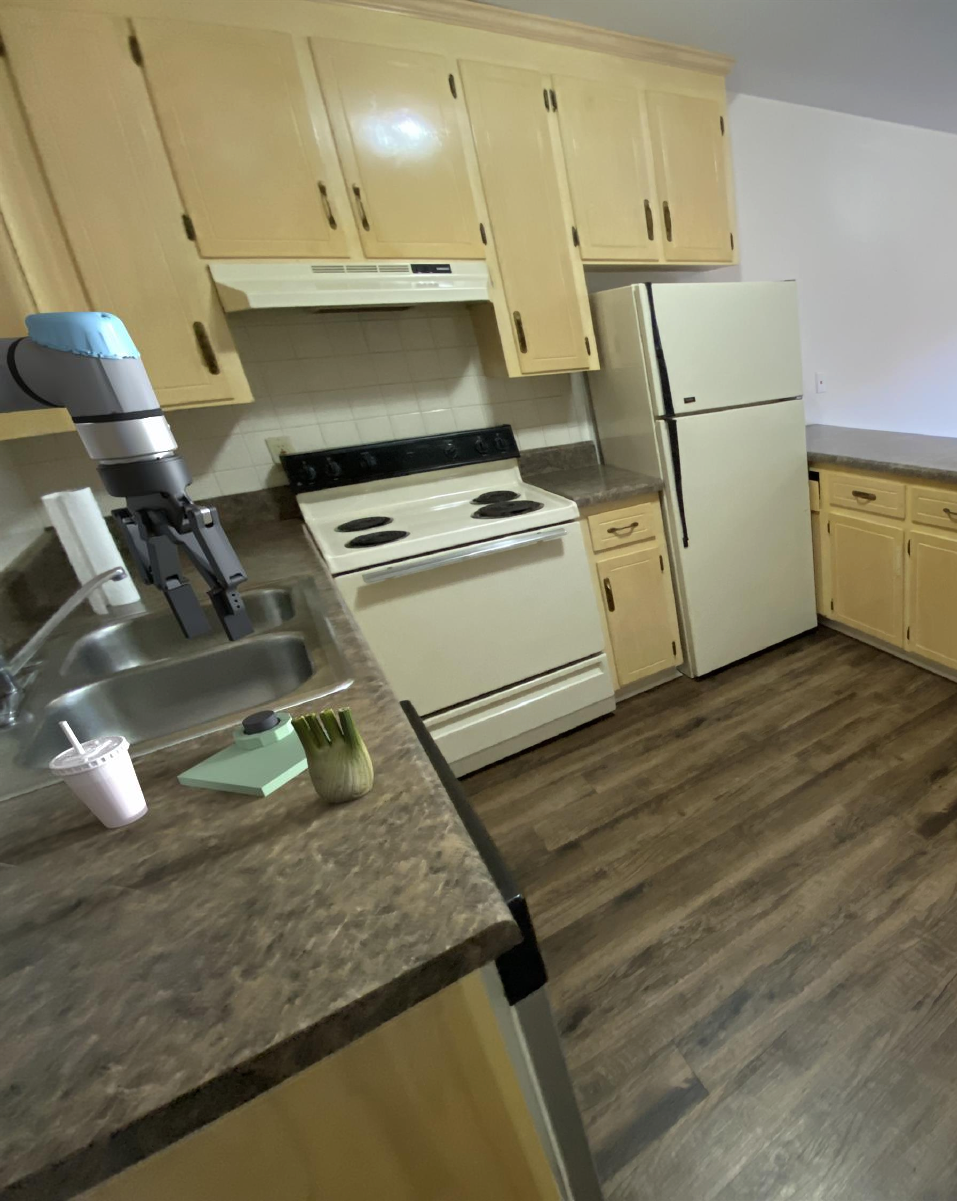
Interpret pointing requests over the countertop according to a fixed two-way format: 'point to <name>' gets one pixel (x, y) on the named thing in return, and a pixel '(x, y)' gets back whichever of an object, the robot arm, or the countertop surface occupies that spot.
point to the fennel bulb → (335, 755)
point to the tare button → (260, 722)
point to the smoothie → (102, 778)
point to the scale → (252, 761)
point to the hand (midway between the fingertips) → (220, 634)
